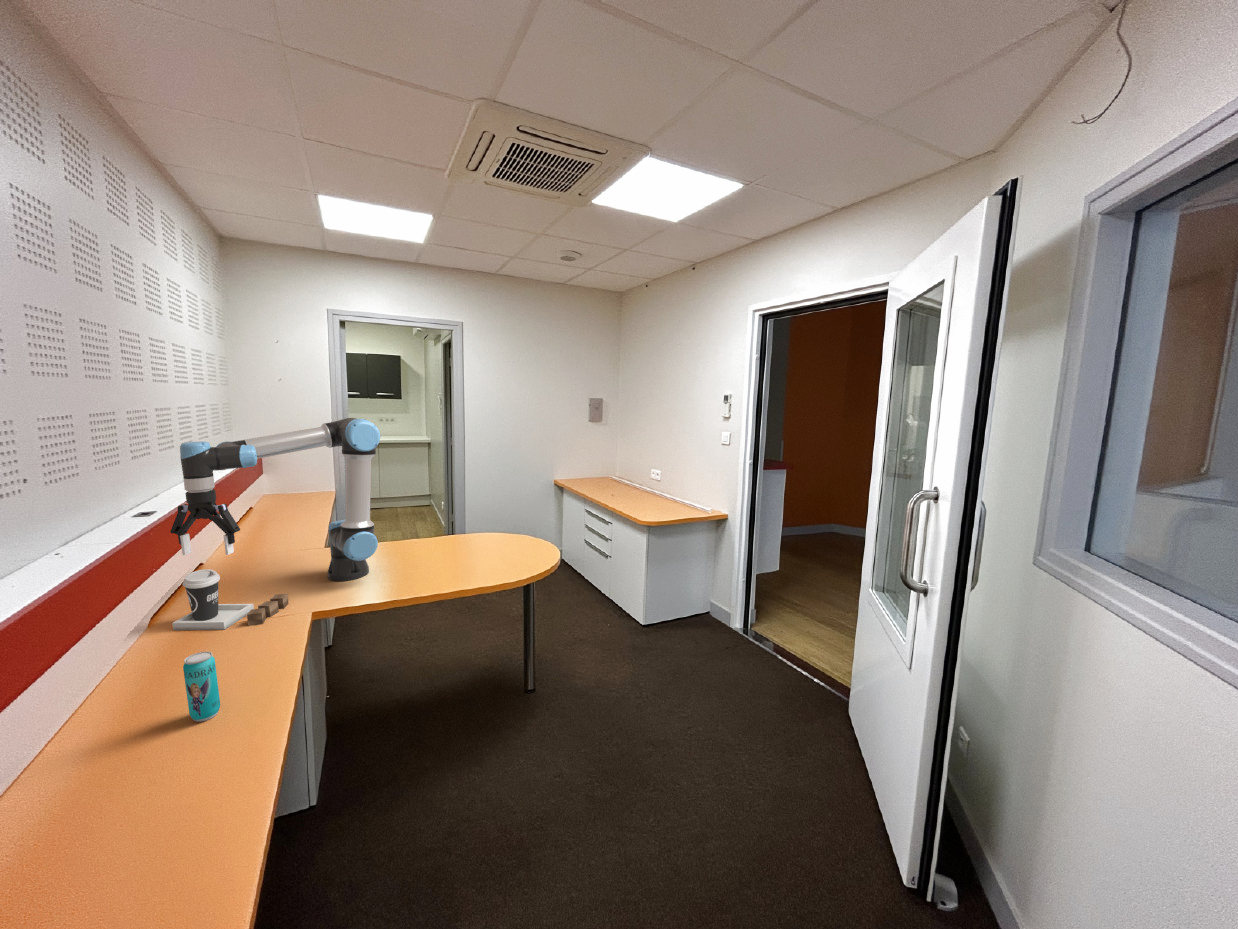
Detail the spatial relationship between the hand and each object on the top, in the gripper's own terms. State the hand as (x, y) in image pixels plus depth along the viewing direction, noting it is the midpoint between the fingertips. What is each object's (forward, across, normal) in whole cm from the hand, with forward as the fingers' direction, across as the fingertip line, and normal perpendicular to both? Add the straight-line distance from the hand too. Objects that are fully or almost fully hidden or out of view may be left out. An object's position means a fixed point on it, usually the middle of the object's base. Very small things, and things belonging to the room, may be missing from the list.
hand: (208, 553), depth 169 cm
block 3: (+23, -15, -9) cm, 29 cm away
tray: (+23, 0, +1) cm, 23 cm away
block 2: (+23, -15, -3) cm, 27 cm away
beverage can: (+23, -35, +52) cm, 66 cm away
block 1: (+23, -15, +3) cm, 27 cm away
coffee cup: (+22, +3, 0) cm, 22 cm away
